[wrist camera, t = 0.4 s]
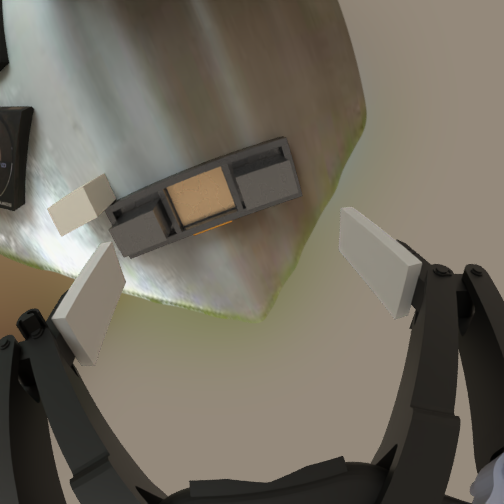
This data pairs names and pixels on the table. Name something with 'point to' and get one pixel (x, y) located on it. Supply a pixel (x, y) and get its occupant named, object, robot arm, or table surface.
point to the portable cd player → (13, 155)
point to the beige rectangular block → (82, 205)
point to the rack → (204, 197)
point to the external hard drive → (2, 42)
